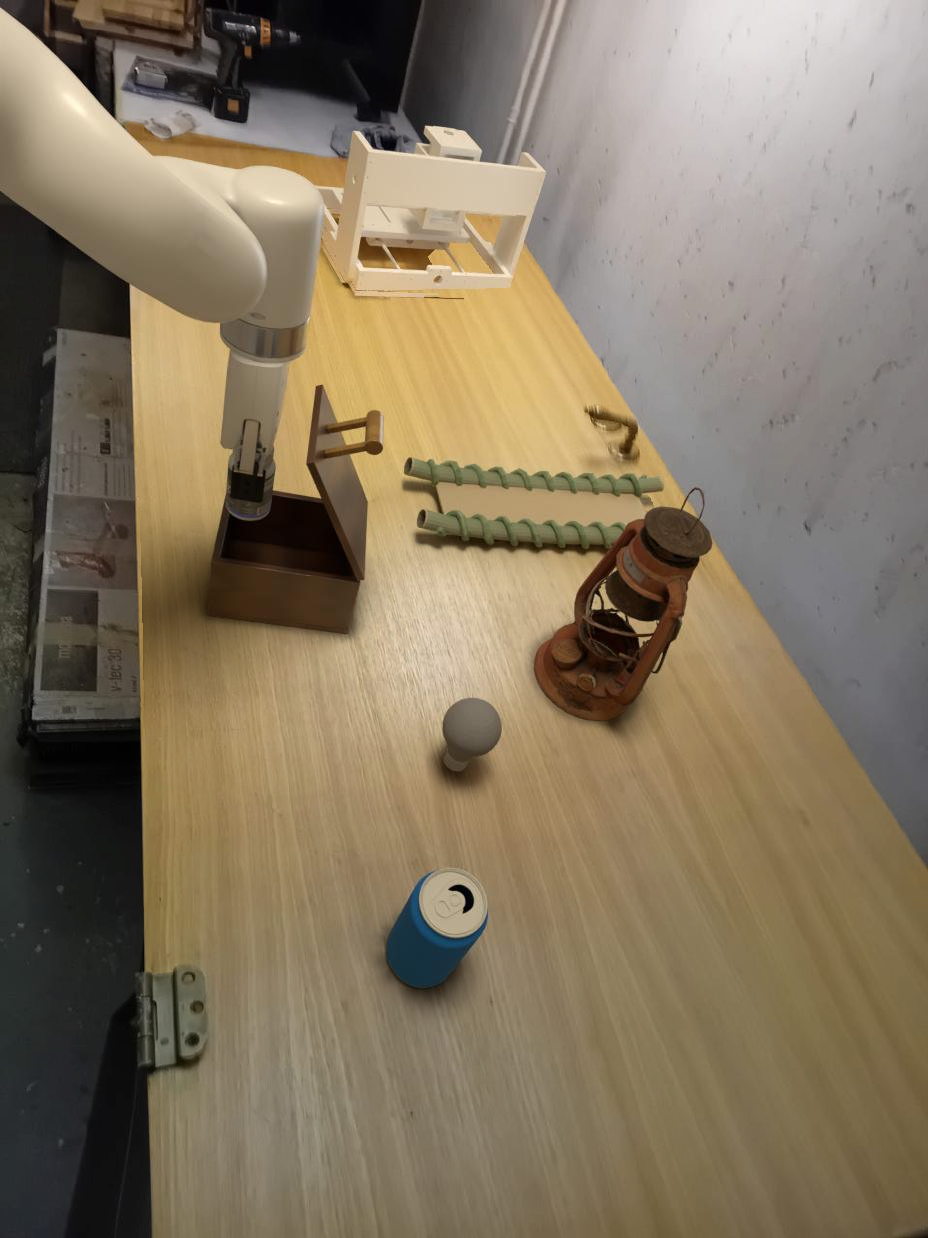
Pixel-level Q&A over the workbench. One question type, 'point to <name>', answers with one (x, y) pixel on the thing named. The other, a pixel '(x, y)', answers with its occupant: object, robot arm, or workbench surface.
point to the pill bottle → (246, 508)
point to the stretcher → (531, 504)
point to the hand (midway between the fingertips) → (249, 479)
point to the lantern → (641, 589)
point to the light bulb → (469, 731)
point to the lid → (342, 473)
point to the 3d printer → (428, 212)
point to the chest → (283, 568)
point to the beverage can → (437, 927)
